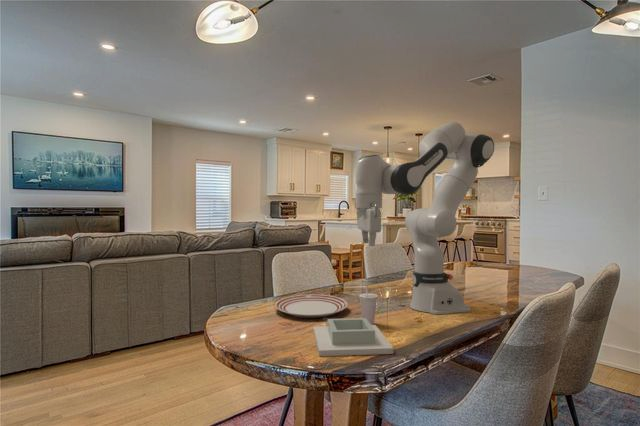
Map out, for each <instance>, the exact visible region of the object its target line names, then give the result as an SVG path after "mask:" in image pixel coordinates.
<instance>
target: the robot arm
mask: <svg viewBox="0 0 640 426" xmlns="http://www.w3.org/2000/svg"><path fill="white" fill-rule="evenodd" d="M418 151H419V155H420V156H419V157H418V158H416V159H415V161H411V162H406V163H402V164H396V165H392V164H390V163H388V162H386V161H385V160H384V159H383V158H382V157H381V155H380V154H371V155H366V156H362V157H360V158H359V159H358V160H357V164H356V172H355V183H356V184H355V185H356V192H355V204H354V209H356V223H357V228H358V230H361V237H362V243H363V244H368V245H369V246H370V247H376V240H377V233H381V231H382V214H381V213H382V212H381V209H383V194H385V195H400V194H401V195H412V194H415V193H417V192H418V191H419V189H421V188H422V187H421V186H422V185H423V183H424V182H425V180H426V178H427V177H428V176H429V175H430V174H431V173H433V172H434V171H435V169H437V168H438V167H439V166H440V165H441V164H442V163H443V162H444V161H445V160H446V159H450V160H454V163H453V164H452V166H451V167H450V169H448V171H446V173H445V175H444V176H443V177H442V179H441V180H440V182H439V183H438V185H436V187H435V189H434V190H433V193H432V195H433V200H432V202H431V204H430V206H428V207H427V208H425V207H424V208H421V207H420V208H417V209H413V210H411V211H409V212H408V213H407V214H406V216H405V219H404V224H405V225H404V226H405V227H406V229H407V231H408V233H409V235H410V238H411V242H412V243H411V244H412V247H413V255H414V256H413V260H414V261H413V264H414V266H413V267H414V268H413V269H414V270H413V272H412V285H413V289H412V296H411V301H410V304H409V308H411V309H413V310H415V311H418V312H419V311H420V312H425V313H430V314H434V315H446V314H455V313H467V312H471V307H470V306H469V305H468V304H466V303H465V301H464V300H465V299H464V295H463V293H462V292H461V291H460V290H458V288H456V287H455V286H454V285H452V284H451V283H450V282H449V281H452V280H453V279H454V275H453V274H450V273H446V272H444V268H445V267H444V265H445V264H444V263H445V262H444V261H445V259H444V258H445V257H444V251H443V249H442V248H441V246H440V244H439V241H438V238H445V237H449V236H451V235H452V234H453V233H455V231H456V229H457V222H458V221H457V218H456V216H457V215H456V214H457V211H458V208H459V206H460V204H461V203H462V202H463V200H464V198H465V197H466V196H467V194H468V192H470V189H471V188H472V186H473V184H474V182H475V181H476V178H477V176H478V174H479V168H481V167H484V165H485V164H486V163H487V162H488V161H489V160H490V159H491V158H492V156H493V154H494V152H495V142H494V140H493V138H492V137H491V136H489V135H486V134H479V133H473V132H466V130H465V128H464V127H463V125H461V124H460V123H459V122H457V121H449V122H446V123H444V124H442V125H440V126H438V127H436V128H435V129H433V130H432V131H430V132H429V133H427V134H426V135H425V136H423V138H422V139H421V140H420V142H419V143H418Z"/></svg>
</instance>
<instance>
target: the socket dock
mask: <svg viewBox="0 0 640 426" xmlns="http://www.w3.org/2000/svg"><path fill="white" fill-rule="evenodd" d="M312 331H313V335H314V340H315V344H316V348H317V354H318V356H319V357H334V356H335V357H336V356H338V357H340V356H361V355H362V356H363V355H364V356H365V355H367V356H368V355H390V354H391V355H393V354H394V347H393V346H392V344H391V342H390V341H389V340H388V339H387V338H386V337H385V335H384V334H383V333H382V331H381V330H380V329H379V328H378V326H377V325H376V324H374V325H371V324H370V323H369V322H368V320H367V319H366V318H362V317H358V318H357V317H356V318H327V325H326V326H325V325H324V326H323V325H321V326H320V325H319V326H313V330H312Z"/></svg>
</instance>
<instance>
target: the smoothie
mask: <svg viewBox="0 0 640 426" xmlns="http://www.w3.org/2000/svg"><path fill="white" fill-rule="evenodd" d="M368 286H369V282H366V283H365V293H360V294H359V295H358V299H359V304H360V309H361V311H360V312H361V318H366V319H367V320H368V322H369V323H370V324H371V325H375V319H376V311H377V303H378V302H377V301H378V299H379V296H378V295H377V294H375V293H369V291H368V289H369V287H368Z"/></svg>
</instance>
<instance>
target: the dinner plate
mask: <svg viewBox="0 0 640 426" xmlns="http://www.w3.org/2000/svg"><path fill="white" fill-rule="evenodd" d="M274 307H275V308H276V309H277V310H278V311H280V312H282V313H285V314H288V315H291V316H294V317H298V318H307V319H308V318H310V319H311V318H324V317H328V316H331V315H335V314H337V313H340V312H341V311H343V310H344V309H346V308H347V307H348V302H347V301H346V300H345V299H343V298H341V297H338V296H335V295H334V296H333V295H327V294H310V293H309V294H297V295H292V296H291V295H290V296H287V297H284V298H281V299H279V300H278V301H276V302H275V304H274Z"/></svg>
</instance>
